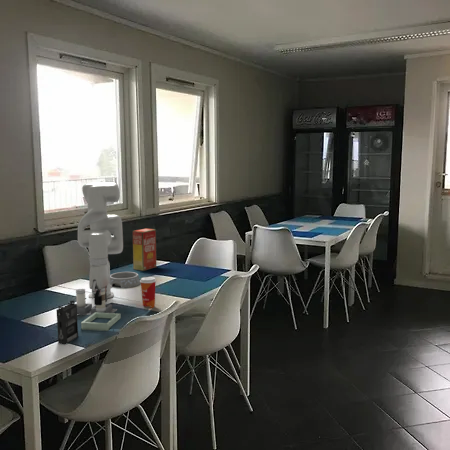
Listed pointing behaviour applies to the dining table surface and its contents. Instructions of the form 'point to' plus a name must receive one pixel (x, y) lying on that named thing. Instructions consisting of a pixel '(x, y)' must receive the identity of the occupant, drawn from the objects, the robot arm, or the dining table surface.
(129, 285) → the dog bowl
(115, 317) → the parts tray
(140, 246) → the food packaging
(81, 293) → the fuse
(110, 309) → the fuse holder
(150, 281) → the paper cup
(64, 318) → the geiger counter
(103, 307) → the fuse
